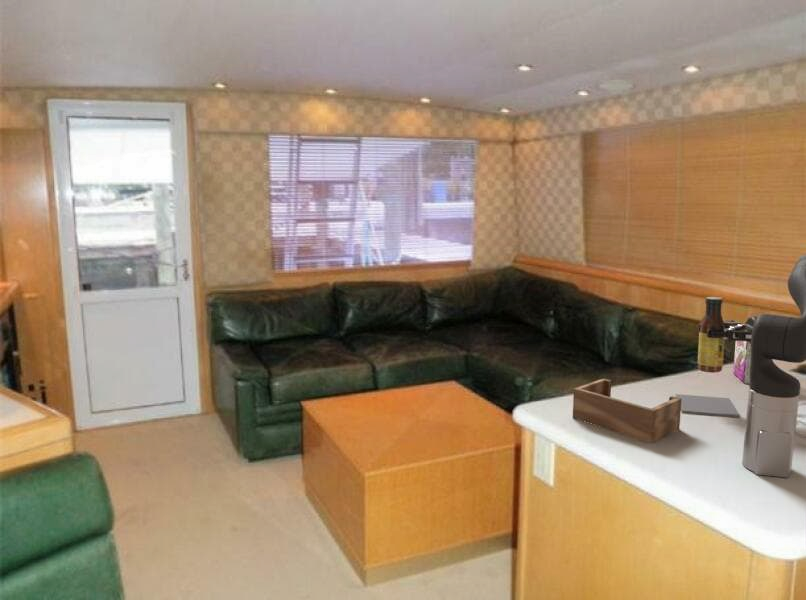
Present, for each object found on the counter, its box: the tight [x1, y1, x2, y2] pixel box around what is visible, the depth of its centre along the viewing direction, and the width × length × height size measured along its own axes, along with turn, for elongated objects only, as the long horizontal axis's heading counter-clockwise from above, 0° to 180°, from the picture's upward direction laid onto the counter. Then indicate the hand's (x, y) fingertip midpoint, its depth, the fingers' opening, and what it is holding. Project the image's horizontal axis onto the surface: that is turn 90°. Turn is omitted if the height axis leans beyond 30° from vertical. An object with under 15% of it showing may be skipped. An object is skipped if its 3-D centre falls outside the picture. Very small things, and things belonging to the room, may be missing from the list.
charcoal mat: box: [674, 393, 741, 419], centre depth 176 cm, size 14×14×1 cm
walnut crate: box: [572, 377, 682, 444], centre depth 163 cm, size 13×22×8 cm, turn 40°
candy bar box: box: [732, 341, 751, 385], centre depth 198 cm, size 11×5×16 cm, turn 168°
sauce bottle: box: [697, 296, 726, 373], centre depth 172 cm, size 6×6×20 cm
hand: (703, 330), depth 172 cm, fingers closed on sauce bottle, 6 cm apart
